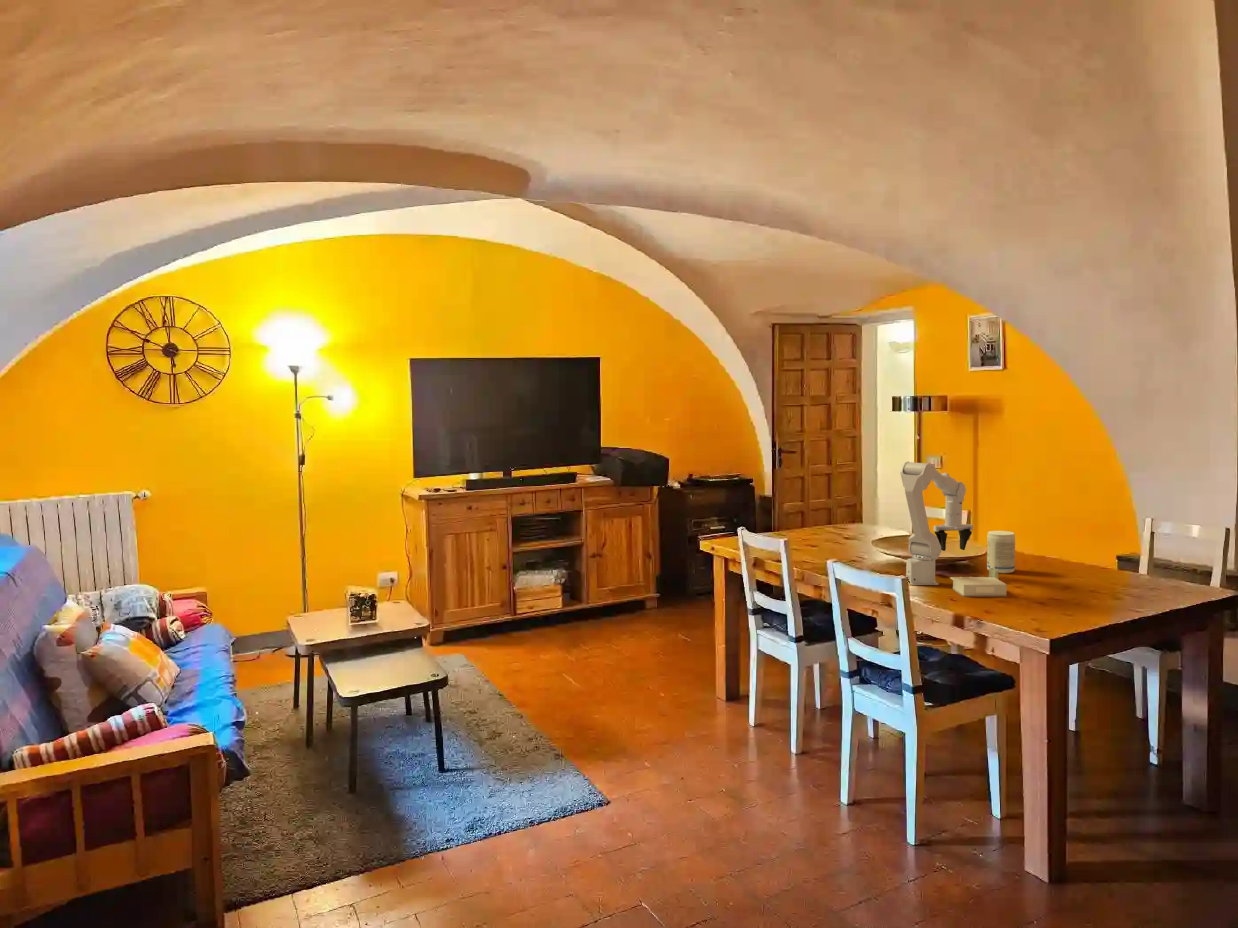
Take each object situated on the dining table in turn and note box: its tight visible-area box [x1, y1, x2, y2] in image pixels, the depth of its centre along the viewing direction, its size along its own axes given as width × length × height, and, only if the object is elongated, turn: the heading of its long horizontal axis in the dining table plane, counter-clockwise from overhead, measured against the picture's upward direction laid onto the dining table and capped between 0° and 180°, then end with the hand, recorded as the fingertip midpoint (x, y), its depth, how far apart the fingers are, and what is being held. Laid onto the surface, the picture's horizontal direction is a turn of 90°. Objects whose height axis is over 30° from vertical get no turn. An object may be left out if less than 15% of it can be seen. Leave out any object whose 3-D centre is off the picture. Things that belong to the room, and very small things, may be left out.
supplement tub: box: [986, 530, 1016, 574], centre depth 310 cm, size 10×10×15 cm
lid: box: [949, 568, 999, 581], centre depth 296 cm, size 14×10×5 cm
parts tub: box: [952, 576, 1008, 597], centre depth 280 cm, size 14×10×4 cm
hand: (952, 549), depth 305 cm, fingers open, 7 cm apart
